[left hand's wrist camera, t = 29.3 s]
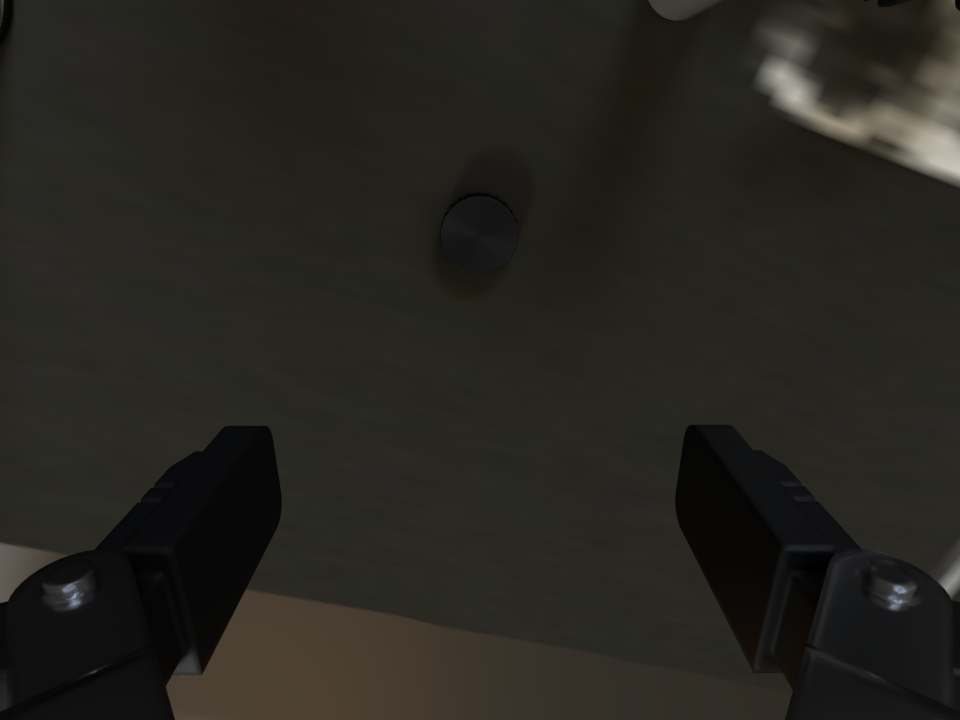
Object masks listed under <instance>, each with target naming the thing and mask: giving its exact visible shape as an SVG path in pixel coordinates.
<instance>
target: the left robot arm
mask: <svg viewBox="0 0 960 720" xmlns="http://www.w3.org/2000/svg"><path fill="white" fill-rule="evenodd" d="M10 14H11V0H0V44H1V43H2V41H3V39H4V37H5V35H6V32H7V29H8V25H9V21H10ZM675 505H676V514H677V519H678V522H679V525H680V528H681V530H682V532H683V534H684V536H685V538H686V540H687V542H688V544H689V546H690V548H691V550H692V552H693V554H694V556H695V558H696V560H697V562H698V564H699V566H700V567H701V569H702V571H703V573H704V575H705V577H706V579H707V581H708V583H709V585H710V587H711V589H712V591H713V593H714V595H715V597H716V599H717V601H718V603H719V605H720V607H721V609H722V611H723V613H724V615H725V617H726V619H727V621H728V623H729V625H730V627H731V629H732V631H733V633H734V635H735V637H736V639H737V641H738V643H739V645H740V647H741V649H742V651H743V653H744V655H745V657H746V659H747V661H748V663H749V665H750V667H751V669H752V671H753V673H783V674H784V675H785V677H786V679H787V681H788V683H789V684H790V686H791V688H792V690H793V693H792V696H791V700H790V703H789V707H788V710H787V714H786V717H785V720H960V602H956V601H951V599H950V596H949V595H948V593H947V592H946V591H945V589H944V588H943V587H942V586H941V585H940V584H939V583H938V582H937V581H936V580H934V579H933V578H932V577H931V576H929V575H928V574H927V573H925V572H924V571H922V570H921V569H919V568H917V567H915V566H914V565H912V564H910V563H908V562H905V561H903V560H901V559H899V558H896V557H893V556H890V555H887V554H884V553H880V552H876V551H870V550H862V549H861V548H860V547H859V546H858V545H857V544H856V543H855V541H854V540H853V539H852V538H851V537H850V536H849V535H848V534H847V533H846V532H845V530H844V529H843V528H842V527H841V526H840V525H839V524H838V523H837V522H836V521H835V519H834V518H833V517H832V516H831V515H830V514H829V513H828V512H827V511H826V510H825V508H824V507H823V506H822V505H821V504H820V503H819V502H818V501H815V497H814V496H813V495H812V494H811V493H810V492H809V491H808V490H807V489H806V488H805V487H802V486H801V482H800V481H799V480H798V479H797V478H796V477H795V475H794V474H793V473H792V472H791V471H790V470H789V469H788V468H787V467H786V466H785V465H784V464H782V463H781V462H779V461H777V460H776V459H774V458H772V457H771V456H769V455H767V454H766V453H764V452H762V451H761V450H753V449H752V448H751V447H750V446H749V445H748V444H747V442H746V441H745V440H744V439H743V438H742V437H741V435H740V434H739V433H738V432H737V431H736V429H735V428H734V427H733V426H731V425H690V426H689V427H688V428H687V430H686V432H685V436H684V441H683V448H682V455H681V461H680V468H679V475H678V481H677V488H676V496H675ZM281 507H282V497H281V489H280V483H279V476H278V469H277V463H276V456H275V450H274V443H273V437H272V434H271V431H270V429H269V428H268V427H267V426H226V427H224V428H223V429H222V430H221V431H220V432H219V433H218V435H217V436H216V437H215V438H214V439H213V440H212V441H211V443H210V444H209V445H208V446H207V447H206V448H205V450H204V451H203V452H194V453H192V454H191V455H189V456H187V457H186V458H184V459H183V460H181V461H179V462H178V463H176V464H174V465H173V466H171V467H170V468H169V469H168V470H167V471H166V472H165V473H164V475H163V476H162V477H161V478H160V479H159V480H158V481H157V482H156V483H155V487H154V488H151V489H150V490H149V491H148V492H147V493H146V494H145V495H144V496H143V497H142V498H141V503H137V504H136V505H135V506H134V507H133V508H132V509H131V510H130V512H129V513H128V514H127V515H126V516H125V517H124V518H123V519H122V520H121V521H120V522H119V524H118V525H117V526H116V527H115V528H114V529H113V530H112V531H111V532H110V533H109V534H108V536H107V537H106V538H105V539H104V540H103V541H102V542H101V543H100V544H99V545H98V546H97V548H96V549H95V550H90V551H84V552H80V553H76V554H73V555H70V556H67V557H64V558H61V559H59V560H57V561H55V562H52V563H50V564H48V565H46V566H45V567H43V568H41V569H39V570H38V571H36V572H35V573H33V574H32V575H31V576H29V577H28V578H27V579H26V580H24V581H23V582H22V583H21V584H20V585H19V586H18V587H17V588H16V589H15V591H14V592H13V594H12V595H11V596H10V599H9V601H7V602H4V603H0V720H175V718H174V714H173V710H172V707H171V703H170V700H169V696H168V693H167V689H166V685H167V683H168V681H169V680H170V678H171V676H172V675H202V674H203V672H204V670H205V668H206V666H207V664H208V662H209V660H210V658H211V656H212V654H213V652H214V650H215V648H216V647H217V645H218V643H219V641H220V639H221V637H222V635H223V633H224V631H225V629H226V627H227V625H228V623H229V621H230V619H231V617H232V615H233V613H234V611H235V609H236V607H237V605H238V603H239V601H240V599H241V597H242V596H243V593H244V592H245V590H246V588H247V586H248V584H249V582H250V580H251V578H252V576H253V574H254V572H255V570H256V568H257V566H258V564H259V562H260V560H261V558H262V556H263V554H264V552H265V550H266V548H267V546H268V545H269V543H270V541H271V539H272V537H273V535H274V533H275V531H276V529H277V526H278V523H279V520H280V515H281Z"/></svg>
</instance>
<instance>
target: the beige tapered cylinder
mask: <svg viewBox="0 0 960 720" xmlns="http://www.w3.org/2000/svg"><path fill="white" fill-rule="evenodd" d="M722 1H724V0H649V2H650V4H651V6H652V7H653V9H654V10H655V11H656V12H657V13H658V14H659V15H661V16H662V17H664V18H667V19H669V20H675V21H680V20H686V19H689V18H692V17H694V16H696V15H698V14H700V13H702V12H703V11H705V10H707V9H709V8H711V7H713V6H715V5H717V4H719V3H721V2H722Z"/></svg>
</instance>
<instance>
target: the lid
mask: <svg viewBox="0 0 960 720" xmlns="http://www.w3.org/2000/svg"><path fill="white" fill-rule="evenodd" d="M516 224H517V221H516V219H514V216H513V211H512V210H510V209H509V208H508V206H507V204H506V202H505V203H504V202H503V201H501V200H500V199H499V198H498V197H495V196H493V195H489V193H487V194H485V193H479V192H477V193H474V194H469V193H468V194H467V195H466V196H464V197H462V198H458V200H457V201H456V202H455V203H454V204H453V205H452V204H451V205H450V209H449V210H448V212H447V213H445V215H444V221H443V222H442V224H441V234H440V237H441V243H442V247H443V250H444V252H445V254H446V256H447V257H448V259H449V260H450V261H451V262H452V263H453V264H454V265H455V266H456V267H458V268H459V269H461V270H463V271H465V272H468V273H472V274H487V273H491V272H493V271H496V270H498V269H500V268H501V267H502V266H504V265H505V264H506V263H507V262H508V261H509V260H510V258H511V257H512V255H513V254H514V251H515V249H516V246H517V244H518V242H517V241H518V234H519V232H518V229H517V225H516Z"/></svg>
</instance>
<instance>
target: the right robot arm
mask: <svg viewBox="0 0 960 720" xmlns="http://www.w3.org/2000/svg"><path fill="white" fill-rule="evenodd" d="M865 1H868V0H864V2H865ZM906 1H909V0H878V7H890V6H893V5H896V4H900V3H903V2H906ZM955 5H956V8H957V9H958V10H959V11H960V0H955Z"/></svg>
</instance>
